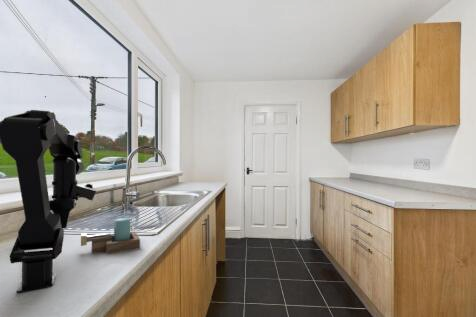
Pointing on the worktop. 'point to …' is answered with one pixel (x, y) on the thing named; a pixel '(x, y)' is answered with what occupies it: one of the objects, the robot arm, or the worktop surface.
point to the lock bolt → (89, 238)
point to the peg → (121, 229)
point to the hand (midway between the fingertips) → (64, 228)
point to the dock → (115, 244)
